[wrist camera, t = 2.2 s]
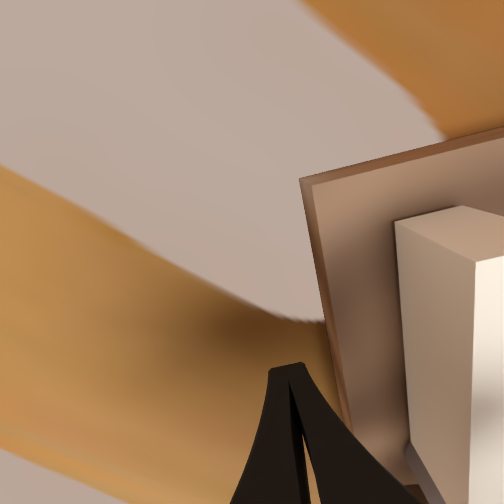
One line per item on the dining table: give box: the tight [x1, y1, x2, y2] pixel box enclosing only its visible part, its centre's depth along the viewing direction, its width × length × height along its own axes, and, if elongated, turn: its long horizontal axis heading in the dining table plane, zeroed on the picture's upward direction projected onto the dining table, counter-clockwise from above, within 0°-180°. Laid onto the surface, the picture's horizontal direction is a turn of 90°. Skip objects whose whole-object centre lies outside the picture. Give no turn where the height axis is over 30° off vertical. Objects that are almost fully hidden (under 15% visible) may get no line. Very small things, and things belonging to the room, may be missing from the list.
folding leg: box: [395, 205, 504, 504], centre depth 11 cm, size 15×3×4 cm, turn 14°
